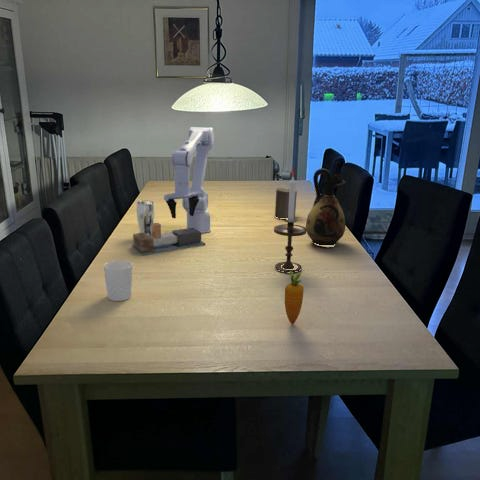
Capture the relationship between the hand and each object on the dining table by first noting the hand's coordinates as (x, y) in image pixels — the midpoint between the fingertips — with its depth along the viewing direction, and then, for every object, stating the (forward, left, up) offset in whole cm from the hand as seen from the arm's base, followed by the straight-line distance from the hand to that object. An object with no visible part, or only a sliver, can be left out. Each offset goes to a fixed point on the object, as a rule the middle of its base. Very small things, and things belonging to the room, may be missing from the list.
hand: (182, 216), depth 196 cm
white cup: (+39, +39, -11) cm, 56 cm away
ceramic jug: (-48, +28, -11) cm, 56 cm away
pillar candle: (-59, -12, -11) cm, 61 cm away
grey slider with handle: (+10, +2, -9) cm, 14 cm away
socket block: (+17, +2, -10) cm, 20 cm away
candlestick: (-19, +44, -11) cm, 49 cm away
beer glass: (+11, -11, -11) cm, 19 cm away
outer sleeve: (+7, +2, -10) cm, 13 cm away
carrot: (+5, +78, -11) cm, 79 cm away
